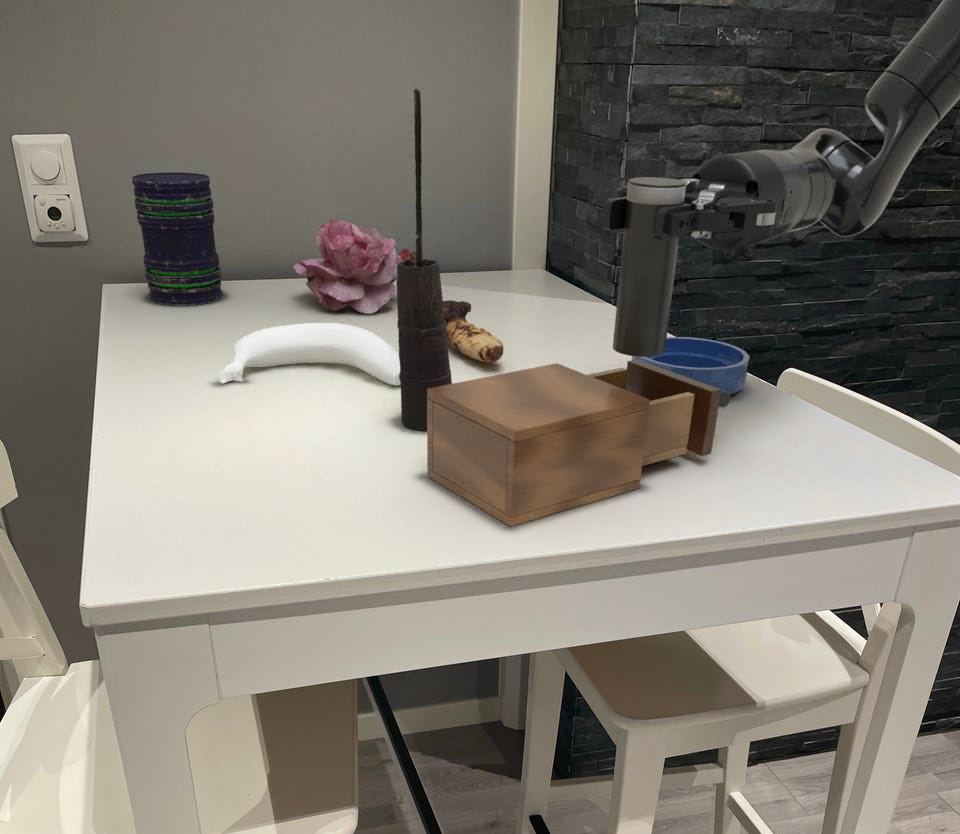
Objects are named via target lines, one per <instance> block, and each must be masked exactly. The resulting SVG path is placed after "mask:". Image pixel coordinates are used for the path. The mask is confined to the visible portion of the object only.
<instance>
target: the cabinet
mask: <svg viewBox="0 0 960 834" xmlns="http://www.w3.org/2000/svg"><path fill="white" fill-rule="evenodd" d="M588 375H589V374H585V373H583V372H580V371H578V370H576V369H574V368H573V369H572V368H571V367H568V366H565V365H562V364H560V363H558V362H557V363H556V362H555V363H549V364H547V365H546V364H545V365H541V366H540V365H539V366H536V367H531V368H526V369H520V370H514V371H511V372H510V371H509V372H506V373H504V372H503V373H500V374H495V375H489V376H485V377H480V378H475V379H469V380H464V381H459V382H454V383H452V384H449V385H444V386H438V387H433V388H428V389H427V430H426V435H427V436H426V438H427V439H426V443H427V444H426V445H427V447H426V450H427V451H426V452H427V453H426V455H427V457H426V459H427V461H426V463H427V478H429V479H431V480H433V481H434V482H436V483H437V484H439V485H441V486H443V487H444V488H446V489H447V490H449V491H451V492H452V493H454V494H456V495H457V496H458V497H461V498H462V499H464V500H465V501H467V502H469V503H471V504H473V505H474V506H476V507H477V508H479V509H481V510H483V511H484V512H486V513H487V514H489V515H491V516H493V517H494V518H496V519H497V520H499V521H501V522H502V523H504V524H506V525H508V526H509V527H515V526H518V525H520V524H524V523H527V522H530V521H533V520H537V519H541V518H544V517H548V516H551V515H554V514H557V513H561V512H564V511H567V510H571V509H574V508H577V507H580V506H583V505H587V504H590V503H594V502H597V501H600V500H604V499H607V498H610V497H614V496H617V495H621V494H624V493H628V492H630V491H635V490H638V489H640V484H641V477H642V470H643V466H642V462H643V454H644V446H645V438H646V429H647V421H648V413H649V404H650V400H649V399H647V398H644V397H642V396H639V395H637V394H634V393H632V392H629V391H626V390H624V389H621V388H619V387H616V386H614V385H611V384H609V383H606V382H603V381H601V380H598V379H596V378H593V377H591V376H588Z"/></svg>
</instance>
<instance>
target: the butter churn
mask: <svg viewBox="0 0 960 834" xmlns="http://www.w3.org/2000/svg"><path fill="white" fill-rule="evenodd" d="M421 100H422V99H421V90H420V89H418V88H415V89H414V91H413V102H414V104H413V107H414V109H413V112H414V113H413V115H414V117H413V118H414V161H415V162H414V163H415V170H414V171H415V172H414V174H415V223H416V224H415V227H416V228H415V235H416V236H417V238H415V250H414V251H412V252H409V253H410V259H411V260H409V259H405V260H404V261H401V262H398V263H397V264H398V265H397V275H398V277H397V279H396V302H397V303H396V304H397V323H396V324H397V326H396V327H397V332H398V343H397V344H398V355H399V361H400V373H399V379H400V383H401V385H400V404H401V405H400V414H401V424H402V426H403V427H404V428H406V429H409V430H413V431H414V430H415V431H423V432H424V431H426V432H427V389H428V388H433V387H438V386H444V385H449V384H453V382H452V381H453V380H452V371H451V364H450V356H449V344H448V343H447V334H446V327H447V325H446V321H445V317H444V307H443V301H444V300H443V291H442V280H441V273H440V264H439V263H440V262H438V260H436V259H427V258H424V259H423V218H422V217H423V216H422V215H423V214H422V210H423V209H422V208H423V207H422V162H423V161H422V159H423V158H422V111H421V110H422V101H421Z"/></svg>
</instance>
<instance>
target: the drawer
mask: <svg viewBox="0 0 960 834" xmlns="http://www.w3.org/2000/svg"><path fill="white" fill-rule="evenodd" d="M587 375H588V376H591V377H593V378H596V379H598V380H601V381H603V382H606V383H609V384H611V385H614V386H616V387H619V388H621V389H624V390H626V391H629V392H632V393H634V394H637V395H639V396H642V397H644V398H647V399H649V400H650V404H649V413H648V421H647V429H646V438H645V446H644V454H643V462H642V467H644V466H647V465H651V464H655V463H658V462H661V461H664V460H668V459H671V458H675V457H678V456H683V455H685V454H687V451H689V452H691V453H693V454H696V455H698V456H700V457H704V456H705V457H706V456H709V455H711V454H712V451H713V444H714V438H715V432H716V427H717V420H718V414H719V407H720V408H722V409H723V408H726V407H727V406H728V405H729V404H730V401H731V398H732V397H731V396H732V395H731V394H730V393H729V392H726V391H723V390H721V389H718V388H716V387H713V386H710V385H707V384H704V383H701V382H699V381H696V380H693V379H690V378H687V377H685V376H682V375H679V374H676V373H673V372H671V371H668V370H665V369H662V368H659V367H657V366H654V365H651V364H648V363H645V362H643V361H640V360H637V359H636V360H632V359H631V360H628V361H627V362H626V368H624V367H618V368H613V369H608V370H604V371H598V372H594V373H589V374H587Z"/></svg>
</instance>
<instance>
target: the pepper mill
mask: <svg viewBox="0 0 960 834" xmlns="http://www.w3.org/2000/svg"><path fill="white" fill-rule="evenodd" d="M627 186H628V187H627V197H626V199H627V204H626V214H625V225H624V228H623V235H622V236H623V237H622V247H621V257H620V267H619V279H618V288H617V298H616V299H617V300H616V308H615V310H616V311H615V318H614V319H615V320H614V330H613V341H612V350H613V351H614V352H617V353H619V354H621V355H624V356H630V357H632V356H637V357H651V356H658V355H661V354H663V353H664V352H665V347H666V339H667V337H668V332H669V331H668V330H669V323H670V315H671V306H672V298H673V292H674V291H673V290H674V282H675V274H676V267H677V266H676V265H677V259H678V251H679V250H678V249H679V243H680V242H679V241H680V237H677V238H672V239H667V240H661V239H656V238H655V235H654V233H655V224H656V215H657V212H658V210H659V209H660V208H662V207H668V206H674V205H680V204H683V203H684V201H685V193H686V182H684V181H682V180H681V179H677V178H669V177H655V176H649V177H648V176H645V177H644V176H642V177H632V178H630V179H628V182H627Z"/></svg>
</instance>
